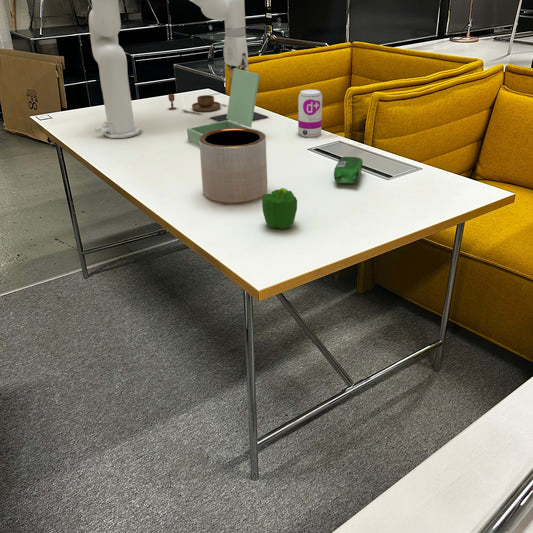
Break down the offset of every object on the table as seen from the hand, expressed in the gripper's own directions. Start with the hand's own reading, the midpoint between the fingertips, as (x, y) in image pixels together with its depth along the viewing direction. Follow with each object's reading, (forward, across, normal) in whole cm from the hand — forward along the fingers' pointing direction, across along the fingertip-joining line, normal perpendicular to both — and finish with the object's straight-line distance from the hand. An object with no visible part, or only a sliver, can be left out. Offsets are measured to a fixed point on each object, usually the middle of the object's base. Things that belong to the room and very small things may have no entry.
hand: (237, 83), depth 214 cm
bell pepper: (+13, +88, -47) cm, 101 cm away
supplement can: (+14, +35, +7) cm, 38 cm away
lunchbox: (+13, +22, -23) cm, 35 cm away
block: (+1, 0, 0) cm, 1 cm away
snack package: (+14, +76, -13) cm, 78 cm away
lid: (0, +22, -13) cm, 26 cm away
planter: (+13, +64, -44) cm, 79 cm away
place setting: (+14, -25, -4) cm, 29 cm away
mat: (+13, 0, 0) cm, 13 cm away
